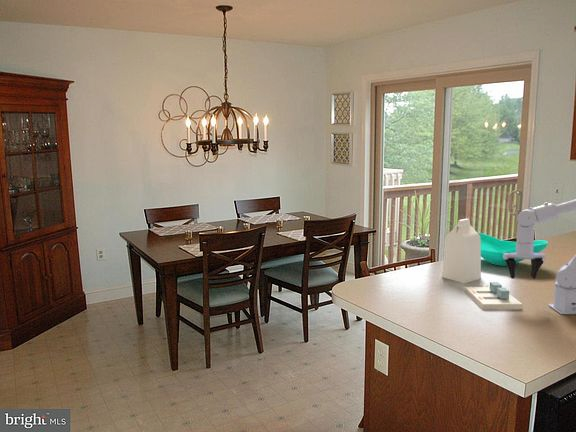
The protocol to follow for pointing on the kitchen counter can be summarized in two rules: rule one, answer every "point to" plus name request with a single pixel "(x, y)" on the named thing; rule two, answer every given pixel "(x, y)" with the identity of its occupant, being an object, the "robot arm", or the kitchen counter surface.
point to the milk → (462, 253)
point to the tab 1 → (494, 286)
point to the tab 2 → (503, 293)
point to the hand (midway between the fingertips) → (522, 277)
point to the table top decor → (503, 249)
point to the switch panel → (491, 299)
